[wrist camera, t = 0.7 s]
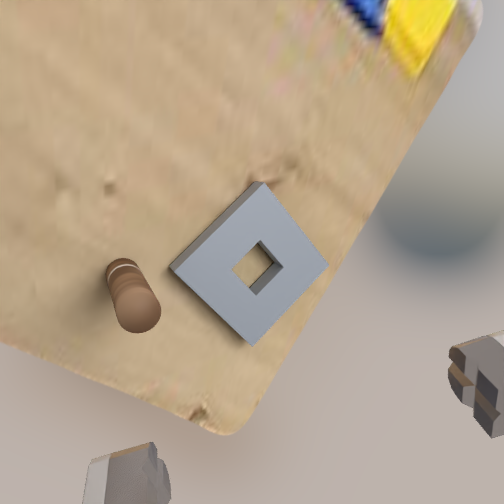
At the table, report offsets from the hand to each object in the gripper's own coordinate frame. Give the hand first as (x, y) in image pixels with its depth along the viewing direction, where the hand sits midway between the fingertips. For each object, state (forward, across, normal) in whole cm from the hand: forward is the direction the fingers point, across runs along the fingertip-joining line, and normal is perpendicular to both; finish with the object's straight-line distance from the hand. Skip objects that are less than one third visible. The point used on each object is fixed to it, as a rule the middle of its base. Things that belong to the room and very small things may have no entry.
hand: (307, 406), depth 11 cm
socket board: (+35, -2, +17) cm, 39 cm away
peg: (+33, +12, +12) cm, 37 cm away
